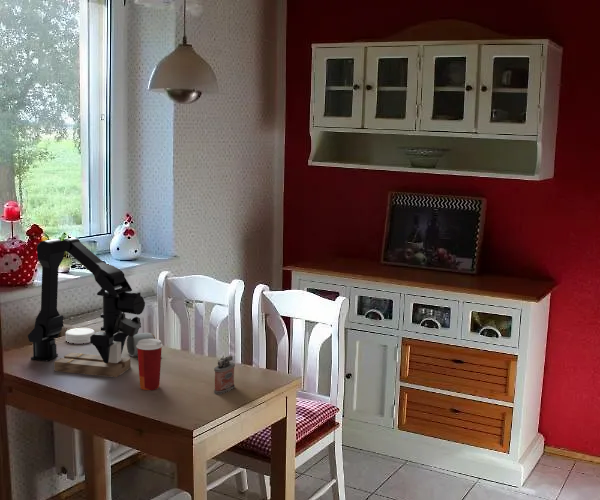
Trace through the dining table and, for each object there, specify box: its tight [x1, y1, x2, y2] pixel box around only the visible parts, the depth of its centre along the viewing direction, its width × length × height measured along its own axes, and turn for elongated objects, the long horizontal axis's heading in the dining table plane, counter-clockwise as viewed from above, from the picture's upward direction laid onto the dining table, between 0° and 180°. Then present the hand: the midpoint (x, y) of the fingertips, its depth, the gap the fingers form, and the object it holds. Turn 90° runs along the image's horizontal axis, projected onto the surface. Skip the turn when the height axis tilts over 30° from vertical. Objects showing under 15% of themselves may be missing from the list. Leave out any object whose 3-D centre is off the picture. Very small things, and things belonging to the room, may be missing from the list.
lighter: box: [213, 354, 236, 395], centre depth 220 cm, size 8×3×10 cm, turn 148°
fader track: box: [53, 352, 132, 378], centre depth 236 cm, size 21×10×3 cm, turn 78°
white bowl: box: [65, 327, 96, 345], centre depth 267 cm, size 10×10×4 cm
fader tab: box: [108, 341, 122, 363], centre depth 234 cm, size 4×3×8 cm
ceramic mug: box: [126, 332, 156, 358], centre depth 253 cm, size 11×8×8 cm
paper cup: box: [136, 338, 164, 391], centre depth 221 cm, size 8×8×14 cm
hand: (113, 358), depth 234 cm, fingers open, 9 cm apart
